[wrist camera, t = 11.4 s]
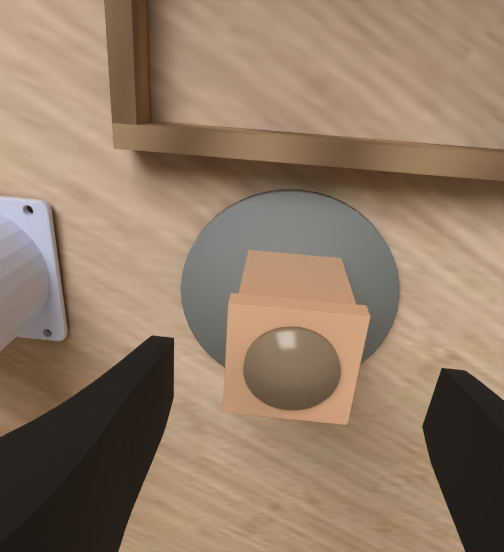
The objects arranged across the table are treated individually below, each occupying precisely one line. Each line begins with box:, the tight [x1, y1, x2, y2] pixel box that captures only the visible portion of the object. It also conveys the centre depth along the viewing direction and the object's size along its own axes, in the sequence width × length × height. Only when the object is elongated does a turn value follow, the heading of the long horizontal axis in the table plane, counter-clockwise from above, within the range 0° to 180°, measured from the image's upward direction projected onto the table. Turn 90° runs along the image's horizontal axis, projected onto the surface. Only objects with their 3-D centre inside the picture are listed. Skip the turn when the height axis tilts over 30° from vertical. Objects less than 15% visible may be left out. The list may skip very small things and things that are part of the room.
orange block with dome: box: [223, 250, 370, 425], centre depth 18 cm, size 5×5×6 cm
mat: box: [181, 190, 399, 367], centre depth 22 cm, size 11×11×1 cm
